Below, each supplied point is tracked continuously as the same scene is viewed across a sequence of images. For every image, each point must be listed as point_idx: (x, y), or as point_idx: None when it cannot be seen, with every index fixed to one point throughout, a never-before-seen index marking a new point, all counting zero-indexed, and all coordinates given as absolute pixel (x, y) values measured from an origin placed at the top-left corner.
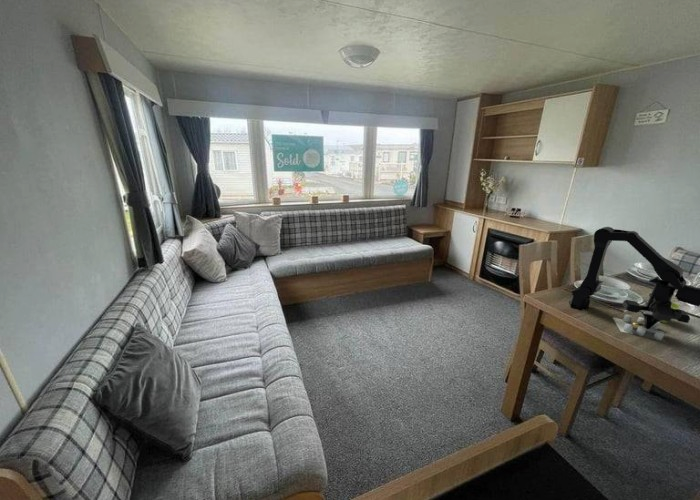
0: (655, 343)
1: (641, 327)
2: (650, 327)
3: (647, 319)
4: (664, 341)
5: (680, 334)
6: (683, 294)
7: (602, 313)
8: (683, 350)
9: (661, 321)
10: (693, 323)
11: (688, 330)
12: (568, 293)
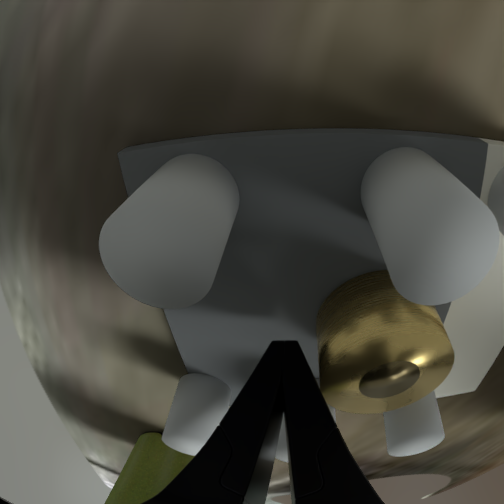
0: (242, 48)
1: (456, 265)
2: (262, 360)
3: (354, 478)
4: (130, 153)
5: (69, 364)
6: None
7: (487, 402)
8: (14, 105)
9: (160, 443)
10: (72, 435)
11: (62, 401)
12: (500, 456)
